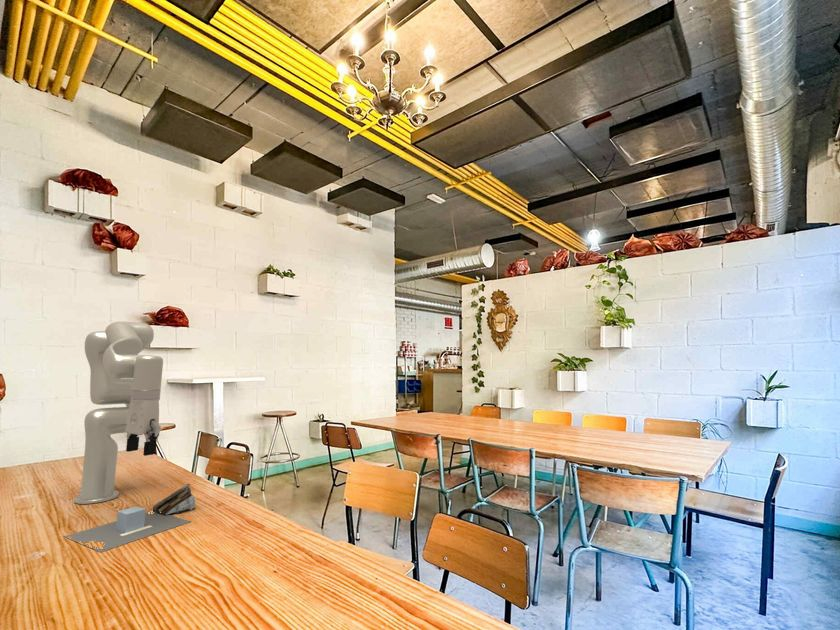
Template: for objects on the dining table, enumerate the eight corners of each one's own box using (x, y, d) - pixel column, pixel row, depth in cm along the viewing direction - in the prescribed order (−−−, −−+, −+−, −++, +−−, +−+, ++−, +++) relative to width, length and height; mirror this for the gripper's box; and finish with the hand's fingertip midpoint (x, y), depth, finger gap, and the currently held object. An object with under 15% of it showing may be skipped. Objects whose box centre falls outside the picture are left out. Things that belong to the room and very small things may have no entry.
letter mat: (63, 536, 114) (63, 536, 114) (153, 510, 135) (153, 510, 135) (100, 552, 104) (100, 551, 104) (191, 521, 125) (191, 521, 125)
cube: (116, 529, 119) (117, 511, 119) (134, 523, 123) (136, 506, 124) (125, 533, 116) (126, 514, 117) (144, 527, 121) (145, 509, 121)
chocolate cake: (159, 520, 127) (193, 487, 134) (149, 509, 131) (182, 477, 138) (177, 533, 133) (208, 501, 140) (167, 522, 137) (198, 491, 144)
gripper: (117, 395, 128) (112, 451, 126) (148, 398, 120) (142, 459, 118) (143, 393, 135) (138, 447, 133) (174, 396, 126) (169, 454, 125)
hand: (140, 452), depth 126 cm, fingers open, 9 cm apart
